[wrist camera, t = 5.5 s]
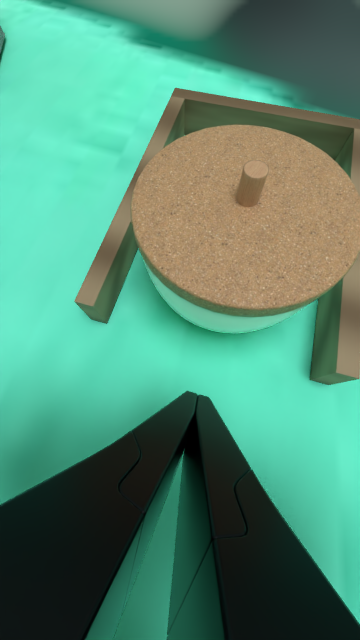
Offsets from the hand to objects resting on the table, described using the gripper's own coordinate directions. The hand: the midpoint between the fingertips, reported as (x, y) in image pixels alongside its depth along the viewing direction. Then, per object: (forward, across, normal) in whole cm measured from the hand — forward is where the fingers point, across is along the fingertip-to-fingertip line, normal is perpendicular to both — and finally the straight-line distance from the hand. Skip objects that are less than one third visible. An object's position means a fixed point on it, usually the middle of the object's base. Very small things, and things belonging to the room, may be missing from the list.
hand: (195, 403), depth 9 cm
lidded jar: (+12, 0, +1) cm, 12 cm away
